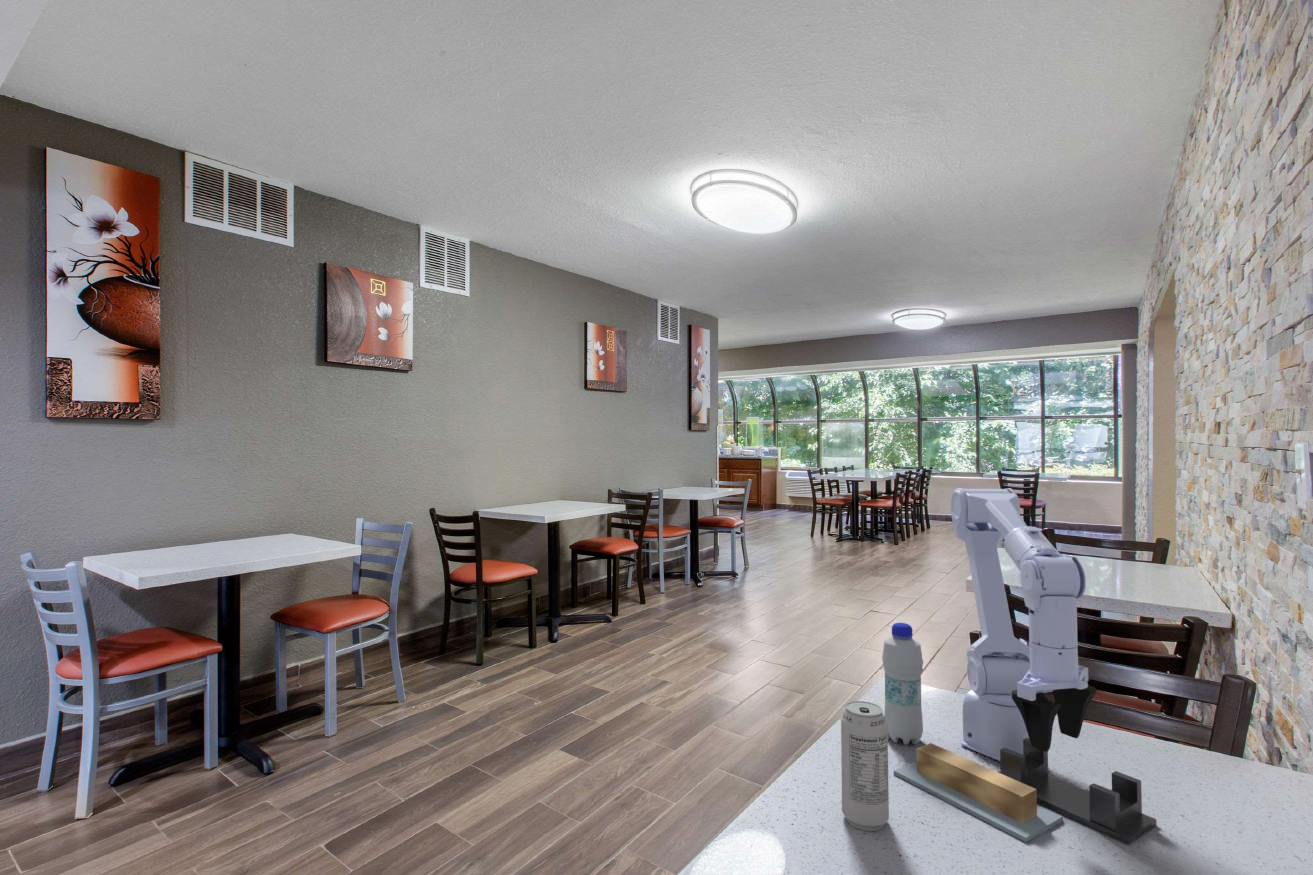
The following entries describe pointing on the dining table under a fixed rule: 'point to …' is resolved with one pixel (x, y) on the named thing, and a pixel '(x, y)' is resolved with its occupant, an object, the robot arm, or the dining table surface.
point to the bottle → (903, 685)
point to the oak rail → (978, 782)
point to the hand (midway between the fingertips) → (1055, 741)
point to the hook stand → (1081, 795)
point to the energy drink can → (864, 765)
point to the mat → (982, 806)
